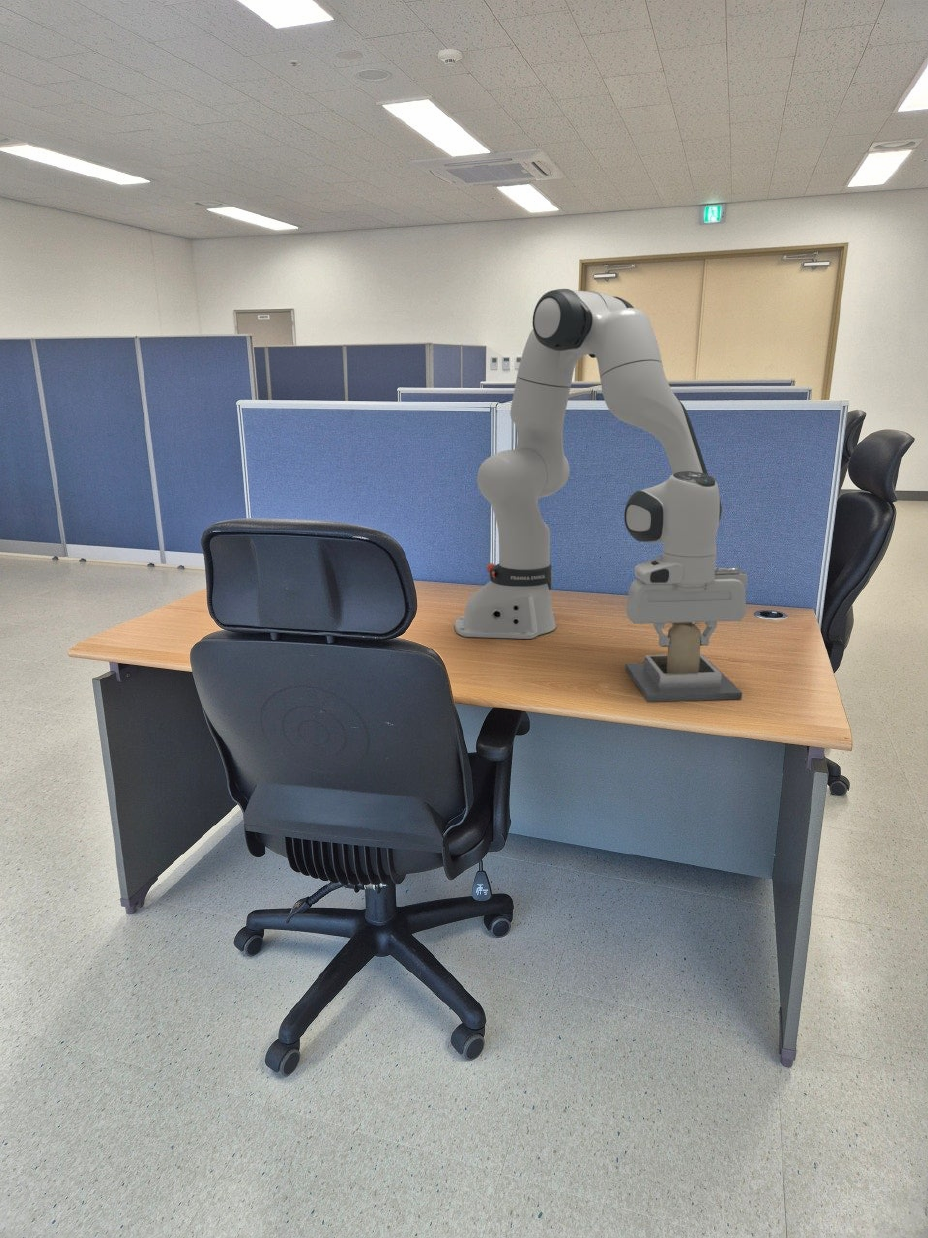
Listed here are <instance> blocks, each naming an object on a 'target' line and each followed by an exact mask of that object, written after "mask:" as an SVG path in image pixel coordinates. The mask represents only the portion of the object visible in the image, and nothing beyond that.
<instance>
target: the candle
mask: <svg viewBox="0 0 928 1238" xmlns="http://www.w3.org/2000/svg"><path fill="white" fill-rule="evenodd" d="M701 634H702V631H701V630H700V629H699V627H698V626H697V625H695V624H693V623H692V622H683V623H673V625H671V626H670V628H669V629H668V630H667V635H668V636H669V637H670V642H669V643H670V646H669V647H667V654H666V655H667V673H699V664H700V654H701V646H700V639H701Z"/></svg>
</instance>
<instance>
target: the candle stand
mask: <svg viewBox="0 0 928 1238" xmlns="http://www.w3.org/2000/svg"><path fill="white" fill-rule="evenodd" d="M625 671H626V673H627V674H628V676H629V677H630V679H632V681H633V682H634V684H635V686H636V687H637V688H638V690H639V692H640V693H641V695H642V696H643V697H644V699H645V701H646V702H647V703H655V702H656V703H659V702H660V703H661V702H692V701H693V702H694V701H699V702H701V701H729V700H730V701H732V700H736V701H737V700H742V696H743V693H742V691H741V690H740V689H739V688H738V687H737V686H736V685H735V684H734V683H733V682H732V681H731V680H730V679H729V678H728V677H727V676H726V675H725V674H724V673H722V672H721V670H720V669H719V668H718V667H716V666H715V665H714V663H712V662H711V661H710V660H709V659H708V658H707V657H706V656H705V655H703V653H700V664H699V673H667V654H645V655H644V656H643V662H635V663H634V662H631V663H630V662H629V663H627V662H626V663H625Z"/></svg>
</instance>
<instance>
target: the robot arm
mask: <svg viewBox="0 0 928 1238" xmlns="http://www.w3.org/2000/svg"><path fill="white" fill-rule="evenodd" d="M656 337H657V336H656V335H655V332H654V329H653V327H652V324H651V321H650V319H649V316H647V314H646V313H645V312H644V311H643V310H640V309H639V308H635V307H634V306H633V305H632V304H631V303H630V302H628V301H627V300H625V299H623V298H621V297H618V296H611V295H609V294H605V293H601V292H599V291H594V290H590V291H589V290H588V291H586V290H572V289H569V288H557V289H553V290H550V291H548V292H546V293H545V292H544V294H543V295H542V296H541V297H540V298H539V300H538V301H537V303H536V305H535V308H534V310H533V313H532V329H531V330H530V333H529V335H528V337H527V340H526V342H525V344H524V348H523V351H522V355H521V356H520V357H521V358H520V361H519V366H518V370H517V375H516V379H515V385H514V391H513V395H512V401H511V407H510V413H509V414H510V418H511V420H512V421H513V424H514V425H515V428H516V435H517V436H516V440H517V443H516V448H515V449H508V450H503V451H499V452H497V453H496V454H495V453H494V454H493V455H491V456H490V457H488V458H486V459H485V460H484V461H483V462H482V463H481V465H480V466H479V468H478V471H477V476H476V477H477V479H476V480H477V485H478V486H477V487H478V489H479V491H480V494H481V495H482V496H483V497H484V498H485V499H486V500H487V501H488V502H489V504H490V505H491V509H492V511H493V514H494V516H495V521H496V525H497V526H496V527H497V533H498V563H497V564H494V562H489V563H488V564H487V565H486V570H487V573H489V580H490V581H488V582H487V583H486V584H485V585H483V586H481V588H479V589H478V590H477V591H475V592H473V593H472V594H471V595H470V596H469V598H468V599H467V602H466V605H465V608H464V614H463V615H461V616H459V617H457V618H456V620H455V622H454V629H455V632H456V633H457V634H458V635H460V636H462V637H464V638H465V637H466V638H489V639H490V638H491V639H493V638H494V639H518V640H519V639H520V640H521V639H522V640H523V639H525V640H530V639H534V638H536V637H538V636H539V635H544V634H547V633H551V632H552V631H554V630H555V629H556V628H557V624H556V620H555V617H554V613H553V606H552V596H551V589H552V586H553V569H552V568H553V567H552V565H551V562H550V561H551V559H550V558H551V530H550V527H549V525H548V524H547V523H546V522H545V521H544V520H543V516H542V514H541V511H540V505H539V499H543V498H547V497H549V496H552V495H553V494H555V493H557V492H558V491H560V490H561V489H562V488H563V487H565V485H566V483H567V482H568V480H569V477H570V471H571V469H570V464H569V460H568V459H567V457H566V456H565V451H564V422H565V415H566V411H567V408H568V407H567V406H568V401H569V396H570V391H571V387H572V383H573V376H574V371H575V368H576V365H577V362H578V361H579V360H580V359H581V358H583V357H584V356H586V355H588V356H589V357H590V358H592V359H593V358H595V359H596V361H597V365H598V372H599V379H600V385H601V386H600V387H601V390H602V391H601V392H602V396H603V398H604V399H603V400H604V403H605V404H606V406H607V407H606V408H608V410H609V412H610V413H611V414H612V415H613V416H614V417H615V418H617V419H618V420H619V421H620V422H621V421H622V422H623V423H624V424H625V423H626V424H628V425H629V426H632V427H636V428H639V429H641V430H643V431H645V432H647V433H649V434H650V435H652V436H653V437H655V438H656V439H657V440H658V441H659V442H660V444H662V445H661V446H663V448H664V450H665V453H666V457H667V461H668V462H669V466H670V469H671V472H672V474H671V475H670V476H669V477H668V479H667V480H665V481H663V482H662V483H661V482H660V483H659V484H657V485H654V486H650V487H647V488H644V489H641V490H636V491H634V493H632V494H631V495H630V496H629V498H628V500H627V501H626V504H625V506H624V507H625V508H624V514H623V516H624V523H625V527H626V531H627V532H628V534H629V535H630V536H631V537H632V538H633V539H635V540H636V541H638V542H642V543H648V544H649V543H650V544H651V543H662V544H663V548H662V549H663V550H662V555H660V556H658V557H655V558H652V559H650V560H647V561H644V562H643V561H642V562H641V563H638V564H636V565H635V566H634V574H635V577H636V578H635V579H634V580H633V581H632V582H631V584H630V586H629V589H628V594H627V595H628V596H627V600H626V613H625V614H626V616H627V619H629V621H631V622H632V623H633V624H636V625H637V624H639V625H640V624H641V625H642V624H643V625H644V624H652V625H653V627H654V629H655V632H656V633H657V635H658V645H659V646H660V647H661V648H666V647H667V648H668V647H669V646H670V643H669V642H670V637H669V636H668V634H664V632H663V630H664V629H665V627H666V624H675V623H683V622H696V623H704V624H705V625H706V627H705V629H704V630H703V632H701V639H700V647H701V646H702V647H703V646H705V647H706V646H709V645H710V644H709V643H710V637H711V636H712V635H713V633H714V632H715V631H716V629H717V625H718V622H740V621H742V620H743V619H744V617H746V614H747V613H746V612H747V611H746V610H747V602H746V601H747V600H746V589H747V588H748V587H747V586H748V579H749V578H748V574H747V573H746V571H744V570H742V569H740V568H741V567H730V568H729V567H728V568H727V567H716V564H717V551H718V550H717V546H716V545H717V544H716V536H717V533H718V530H719V527H720V521H721V519H722V513H723V505H722V501H721V499H720V490H719V485H718V482H717V480H716V479H715V478H714V477H713V476H712V475H709V474H708V471H707V470H708V469H707V467H706V464H705V461H704V458H703V454H702V452H701V448H700V446H699V443H698V440H697V436H696V433H695V430H694V427H693V424H692V421H691V419H690V416H689V413H688V411H687V409H686V407H685V405H684V404H683V403H682V402H681V401H680V400H679V399H678V398H677V397H676V395H675V393H674V392H673V390H672V388H671V386H670V384H669V382H668V380H667V376H666V374H665V371H664V366H663V361H662V357H661V352H660V349H659V344H658V341H657V338H656Z"/></svg>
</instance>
